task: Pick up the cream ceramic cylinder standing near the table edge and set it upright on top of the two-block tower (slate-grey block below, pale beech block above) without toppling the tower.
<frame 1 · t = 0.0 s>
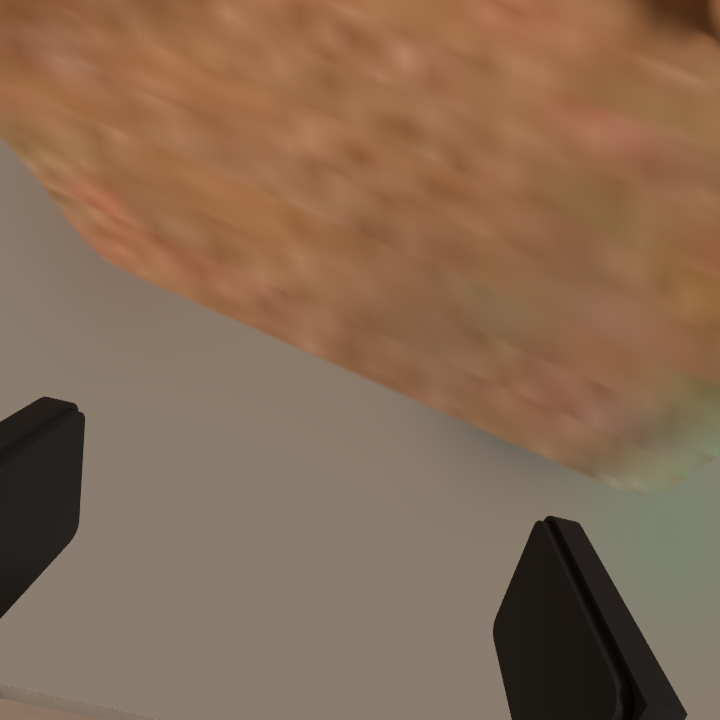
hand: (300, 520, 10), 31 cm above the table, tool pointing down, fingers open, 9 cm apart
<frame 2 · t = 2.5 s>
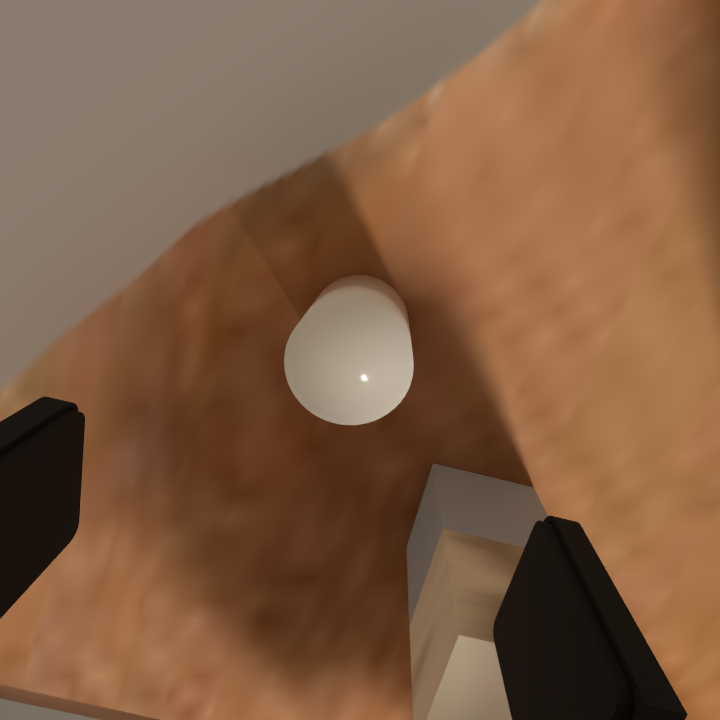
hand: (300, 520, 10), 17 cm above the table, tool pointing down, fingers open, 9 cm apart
cylinder: (359, 323, 27), on the table
tower base: (468, 518, 30), on the table, touching tower top
tower top: (485, 593, 24), point 6 cm above the table, touching tower base
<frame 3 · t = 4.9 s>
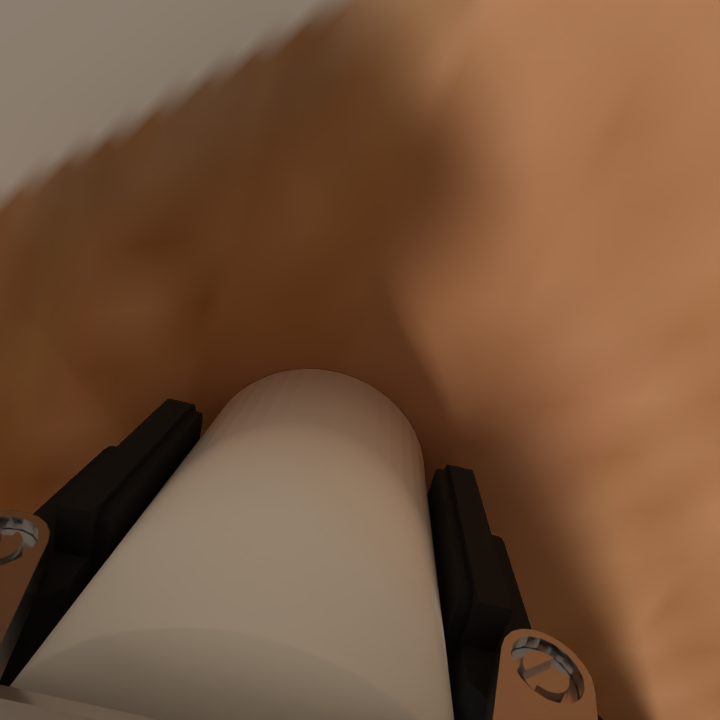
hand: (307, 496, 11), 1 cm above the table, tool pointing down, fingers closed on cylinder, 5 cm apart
cylinder: (314, 471, 12), on the table, touching gripper
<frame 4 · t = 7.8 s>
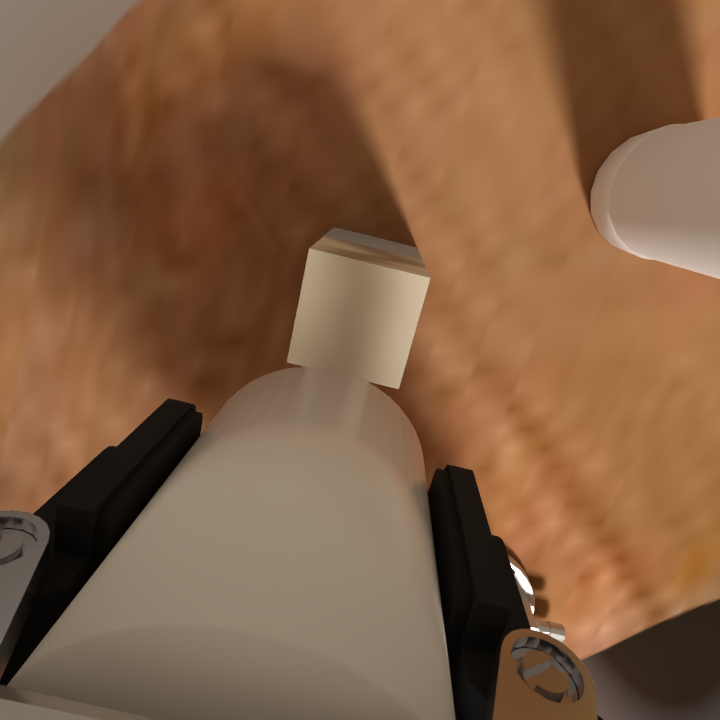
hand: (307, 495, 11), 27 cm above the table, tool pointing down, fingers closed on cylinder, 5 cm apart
cylinder: (313, 470, 12), point 26 cm above the table, touching gripper
tower base: (365, 278, 37), on the table, touching tower top
bottle: (647, 193, 34), on the table
tower top: (361, 296, 31), point 6 cm above the table, touching tower base
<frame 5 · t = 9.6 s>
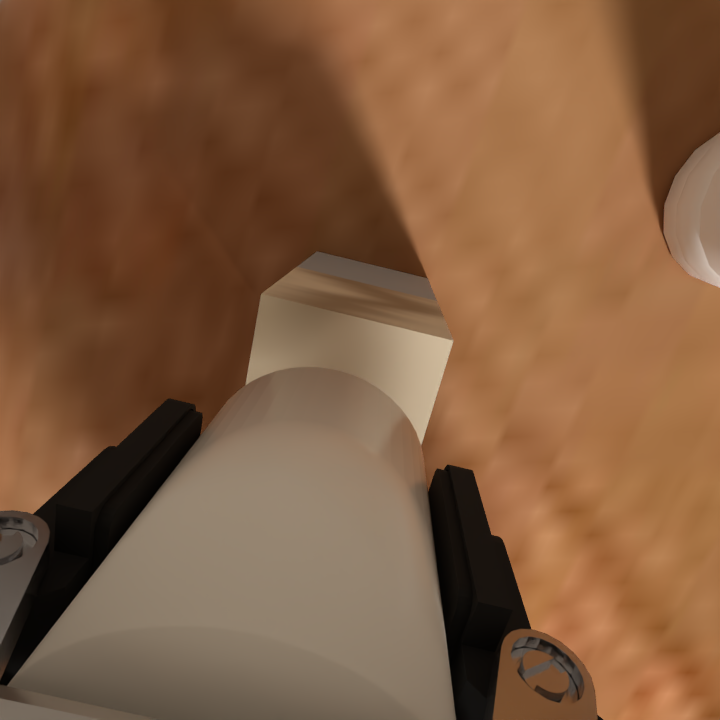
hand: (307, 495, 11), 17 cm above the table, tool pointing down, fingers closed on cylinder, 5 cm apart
cylinder: (313, 470, 12), point 16 cm above the table, touching gripper
tower base: (359, 318, 28), on the table, touching tower top
tower top: (350, 350, 22), point 6 cm above the table, touching tower base
when the fingers open (14 cm above the table, at t = 11.1 s): cylinder drops 1 cm, resting on tower top.
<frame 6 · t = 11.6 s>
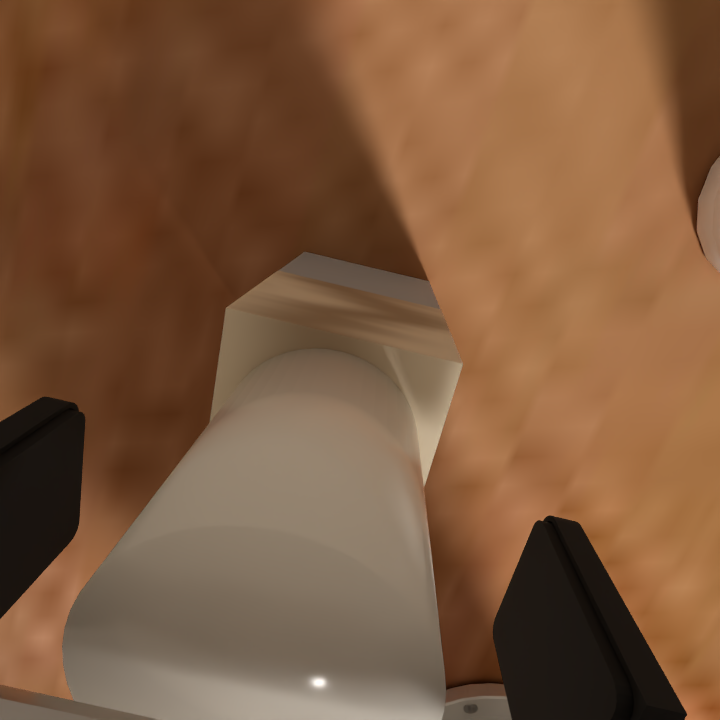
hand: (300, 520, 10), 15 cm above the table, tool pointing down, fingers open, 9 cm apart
cylinder: (319, 441, 13), point 12 cm above the table, touching tower top
tower base: (353, 326, 25), on the table, touching tower top
tower top: (341, 366, 19), point 6 cm above the table, touching cylinder, tower base
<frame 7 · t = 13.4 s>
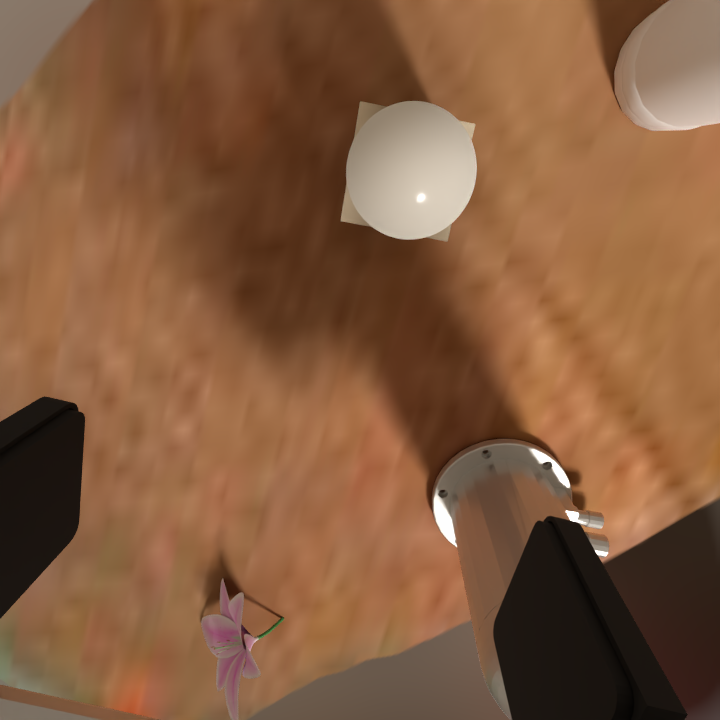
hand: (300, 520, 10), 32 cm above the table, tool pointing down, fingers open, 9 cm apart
cylinder: (404, 174, 27), point 12 cm above the table, touching tower top
bottle: (669, 70, 35), on the table
tower top: (401, 174, 32), point 6 cm above the table, touching cylinder, tower base
lily: (245, 605, 54), on the table
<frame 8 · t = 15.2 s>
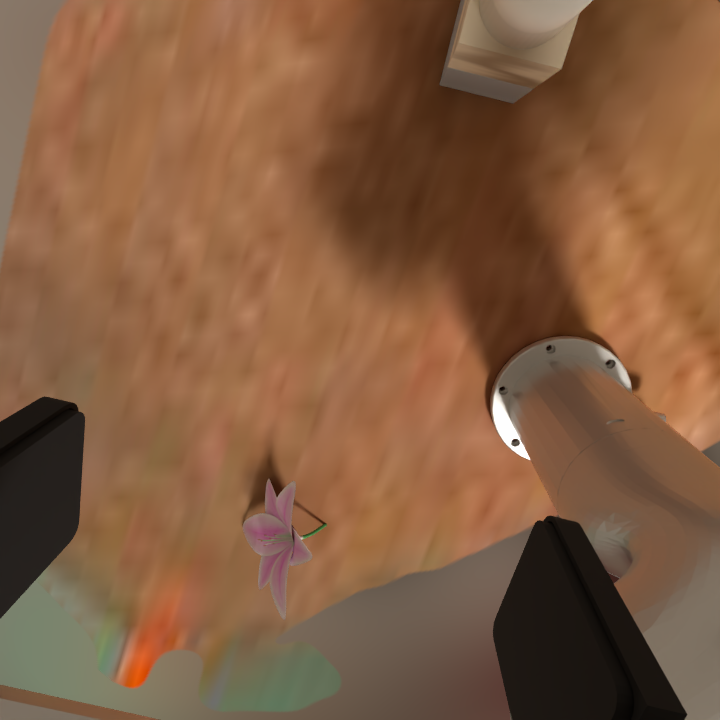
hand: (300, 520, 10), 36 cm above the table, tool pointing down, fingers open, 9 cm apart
tower base: (487, 51, 39), on the table, touching tower top
tower top: (504, 27, 33), point 6 cm above the table, touching cylinder, tower base
lily: (288, 509, 54), on the table
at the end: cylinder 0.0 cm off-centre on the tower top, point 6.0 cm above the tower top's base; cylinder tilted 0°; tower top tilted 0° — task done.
